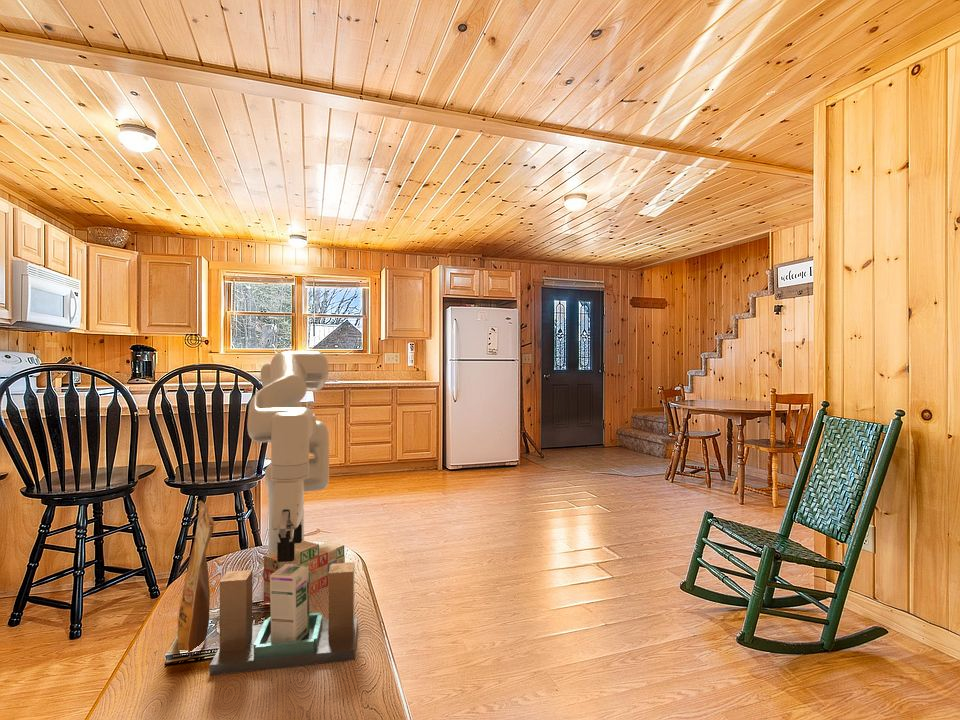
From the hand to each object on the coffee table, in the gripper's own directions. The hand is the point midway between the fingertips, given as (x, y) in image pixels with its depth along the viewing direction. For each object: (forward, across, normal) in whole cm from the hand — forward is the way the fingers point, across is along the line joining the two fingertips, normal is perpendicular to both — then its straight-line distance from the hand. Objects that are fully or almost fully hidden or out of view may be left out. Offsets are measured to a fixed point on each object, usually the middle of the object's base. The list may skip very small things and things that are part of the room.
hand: (290, 551), depth 107 cm
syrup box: (+18, +1, 0) cm, 18 cm away
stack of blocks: (+21, -27, 0) cm, 34 cm away
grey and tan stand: (+20, +1, 0) cm, 20 cm away
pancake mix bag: (+20, -7, -20) cm, 30 cm away
